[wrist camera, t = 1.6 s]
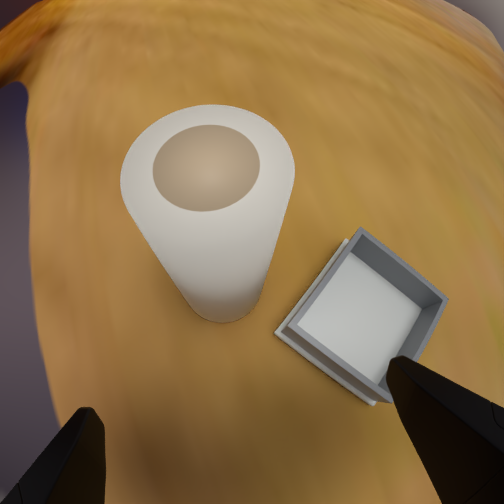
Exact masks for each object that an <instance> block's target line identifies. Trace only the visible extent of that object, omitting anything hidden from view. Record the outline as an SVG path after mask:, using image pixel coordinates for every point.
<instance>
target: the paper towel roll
mask: <svg viewBox="0 0 504 504" xmlns="http://www.w3.org/2000/svg"><path fill="white" fill-rule="evenodd" d="M294 176H295V167H294V160H293V156H292V153H291V150H290V148H289V146H288V144H287V142H286V140H285V139H284V137H283V136H282V135H281V134H280V132H279V131H278V130H277V129H276V128H275V127H274V126H273V125H271V124H270V123H269V122H268V121H266V120H265V119H263V118H262V117H260V116H258V115H256V114H254V113H252V112H249V111H247V110H244V109H240V108H237V107H232V106H226V105H200V106H193V107H189V108H185V109H182V110H179V111H176V112H173V113H171V114H169V115H166V116H164V117H163V118H161V119H159V120H157V121H156V122H155V123H153V124H152V125H150V126H149V127H148V128H147V129H146V130H145V131H143V132H142V133H141V134H140V136H139V137H138V138H137V139H136V140H135V141H134V143H133V144H132V146H131V147H130V149H129V151H128V153H127V155H126V157H125V160H124V162H123V165H122V170H121V178H120V185H121V193H122V197H123V200H124V203H125V205H126V207H127V209H128V211H129V213H130V215H131V216H132V218H133V220H134V221H135V223H136V224H137V226H138V228H139V229H140V231H141V232H142V234H143V236H144V237H145V239H146V240H147V242H148V244H149V245H150V247H151V248H152V250H153V251H154V253H155V255H156V256H157V258H158V259H159V261H160V262H161V264H162V265H163V267H164V268H165V270H166V271H167V273H168V274H169V276H170V277H171V279H172V280H173V282H174V283H175V285H176V286H177V288H178V289H179V291H180V292H181V294H182V295H183V297H184V298H185V300H186V301H187V302H188V304H189V305H190V307H191V308H192V309H193V310H194V311H195V312H196V313H197V314H198V315H199V316H201V317H203V318H204V319H206V320H209V321H212V322H218V323H227V322H232V321H236V320H238V319H241V318H242V317H244V316H246V315H247V314H248V313H249V312H250V311H251V310H252V309H253V308H254V307H255V305H256V304H257V302H258V300H259V297H260V295H261V291H262V288H263V285H264V281H265V278H266V275H267V272H268V268H269V265H270V262H271V258H272V255H273V252H274V249H275V245H276V242H277V239H278V235H279V232H280V228H281V225H282V222H283V218H284V215H285V212H286V208H287V205H288V201H289V198H290V194H291V191H292V188H293V183H294Z"/></svg>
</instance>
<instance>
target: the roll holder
mask: <svg viewBox="0 0 504 504" xmlns="http://www.w3.org/2000/svg"><path fill="white" fill-rule="evenodd" d="M448 300H449V299H448V298H447V297H446V296H445V295H444V294H443V293H442V292H440V291H439V290H438V289H437V288H436V287H435V286H434V285H432V284H431V283H430V282H429V281H428V280H426V279H425V278H424V277H423V276H422V275H421V274H419V273H418V272H417V271H416V270H415V269H413V268H412V267H411V266H410V265H409V264H407V263H406V262H405V261H404V260H402V259H401V258H400V257H399V256H397V255H396V254H395V253H394V252H393V251H391V250H390V249H389V248H387V247H386V246H385V245H384V244H382V243H381V242H380V241H379V240H377V239H376V238H375V237H373V236H372V235H371V234H370V233H368V232H367V231H366V230H364V229H363V228H362V227H359V229H358V230H357V231H356V233H355V234H354V235H353V236H352V238H351V239H350V240H348V239H345V240H344V241H343V243H342V244H341V245H340V247H339V248H338V250H337V251H336V252H335V254H334V255H333V256H332V258H331V259H330V261H329V262H328V263H327V265H326V266H325V267H324V269H323V270H322V271H321V273H320V274H319V275H318V277H317V278H316V279H315V281H314V282H313V283H312V285H311V286H310V287H309V289H308V290H307V291H306V293H305V294H304V295H303V297H302V298H301V299H300V300H299V302H298V303H297V304H296V306H295V307H294V308H293V309H292V311H291V312H290V313H289V315H288V316H287V317H286V318H285V320H284V321H283V322H282V323H281V325H280V326H279V327H278V329H277V330H276V331H275V332H274V334H275V335H276V336H277V337H278V338H280V339H281V340H282V341H284V342H285V343H286V344H288V345H289V346H290V347H291V348H293V349H294V350H295V351H297V352H298V353H299V354H301V355H302V356H303V357H305V358H306V359H307V360H309V361H310V362H311V363H313V364H314V365H315V366H317V367H318V368H319V369H321V370H322V371H323V372H325V373H326V374H327V375H329V376H330V377H331V378H333V379H334V380H335V381H337V382H338V383H340V384H341V385H342V386H344V387H345V388H346V389H348V390H349V391H351V392H352V393H353V394H355V395H356V396H358V397H359V398H360V399H362V400H363V401H365V402H366V403H367V404H369V405H370V406H374V405H375V403H376V402H377V401H378V402H385V403H392V402H393V398H392V396H391V393H390V391H389V388H388V386H387V383H386V373H387V369H388V365H389V361H390V360H391V358H394V357H397V356H400V355H404V356H406V357H408V358H410V359H412V360H413V361H415V362H417V361H418V359H419V357H420V356H421V354H422V352H423V350H424V348H425V346H426V345H427V343H428V341H429V339H430V337H431V335H432V333H433V331H434V329H435V327H436V325H437V323H438V321H439V319H440V317H441V315H442V313H443V311H444V308H445V306H446V304H447V302H448Z"/></svg>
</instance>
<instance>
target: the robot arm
mask: <svg viewBox="0 0 504 504" xmlns="http://www.w3.org/2000/svg"><path fill="white" fill-rule="evenodd" d="M386 383H387V386H388V388H389V391H390V393H391V396H392V398H393V401H394V404H395V406H396V409H397V412H398V414H399V417H400V419H401V422H402V424H403V426H404V428H405V430H406V432H407V433H408V435H409V437H410V439H411V441H412V443H413V445H414V447H415V449H416V451H417V453H418V455H419V457H420V459H421V461H422V463H423V465H424V467H425V469H426V471H427V473H428V475H429V477H430V479H431V482H432V484H433V486H434V488H435V490H436V492H437V494H438V496H439V498H440V500H441V503H442V504H504V408H503V407H501V406H499V405H497V404H495V403H493V402H490V401H489V400H487V399H485V398H483V397H481V396H479V395H478V394H476V393H474V392H472V391H470V390H468V389H466V388H464V387H462V386H460V385H459V384H457V383H455V382H453V381H451V380H449V379H447V378H445V377H443V376H442V375H440V374H438V373H436V372H434V371H432V370H430V369H428V368H427V367H425V366H423V365H421V364H419V363H417V362H415V361H413V360H412V359H410V358H408V357H406V356H404V355H400V356H397V357H394V358H391V360H390V361H389V365H388V369H387V373H386ZM105 481H106V460H105V428H104V424H103V422H102V421H101V419H100V418H99V416H98V415H97V413H96V412H95V410H94V409H93V408H91V407H80V408H79V409H78V410H77V411H76V412H75V413H74V414H73V416H72V417H71V418H70V419H69V420H68V422H67V423H66V424H65V425H64V426H63V427H62V429H61V430H60V431H59V432H58V434H57V435H56V436H55V437H54V438H53V439H52V441H51V442H50V443H49V444H48V446H47V447H46V448H45V449H44V451H43V452H42V453H41V454H40V455H39V456H38V458H37V459H36V460H35V462H34V463H33V464H32V465H31V467H30V468H29V469H28V470H27V471H26V472H25V474H24V475H23V476H22V478H21V479H20V480H19V483H17V484H16V485H15V486H14V487H13V489H12V490H11V491H10V492H9V493H8V495H7V496H6V497H5V498H4V499H3V501H2V502H1V503H0V504H104V503H105Z"/></svg>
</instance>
